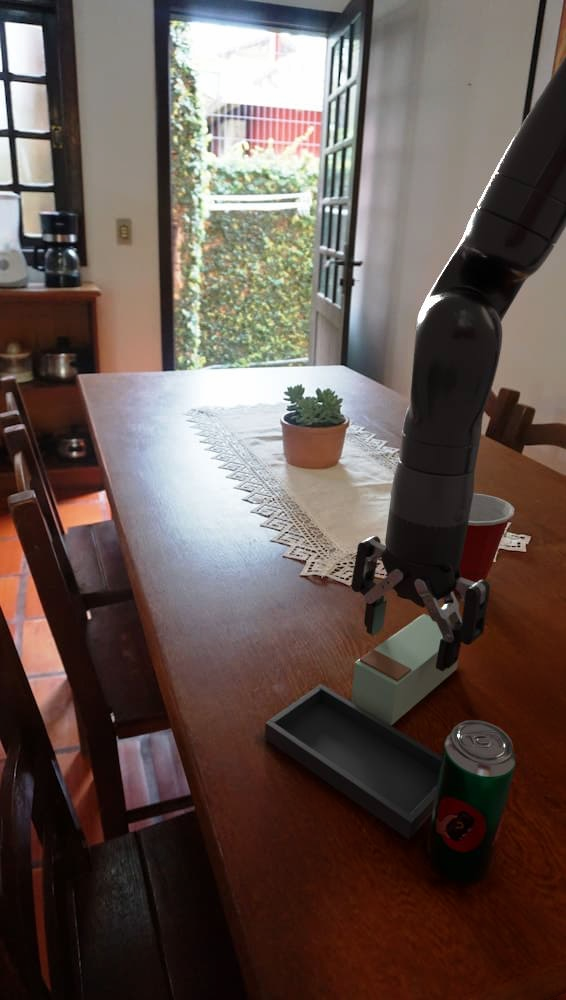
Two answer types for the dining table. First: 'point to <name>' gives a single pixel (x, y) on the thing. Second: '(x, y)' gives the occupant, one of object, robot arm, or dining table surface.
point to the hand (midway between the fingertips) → (407, 648)
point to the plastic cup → (483, 535)
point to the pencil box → (399, 671)
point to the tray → (360, 757)
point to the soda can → (470, 801)
